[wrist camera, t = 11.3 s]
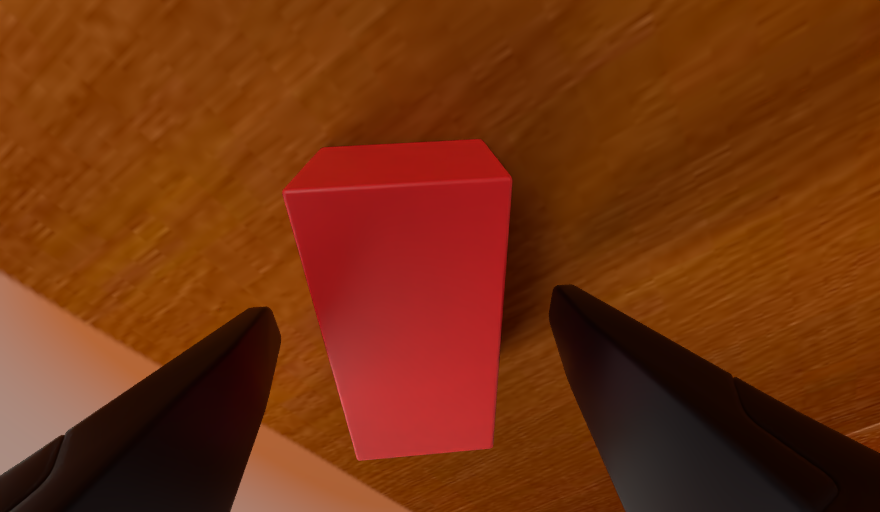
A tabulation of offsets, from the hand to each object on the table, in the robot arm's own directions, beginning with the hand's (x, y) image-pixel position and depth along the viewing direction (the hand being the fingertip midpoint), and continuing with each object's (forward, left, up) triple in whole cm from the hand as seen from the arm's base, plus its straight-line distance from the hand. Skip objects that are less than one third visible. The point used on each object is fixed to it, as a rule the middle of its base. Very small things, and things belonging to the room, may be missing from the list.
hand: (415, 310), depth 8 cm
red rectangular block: (0, 0, -1) cm, 1 cm away
